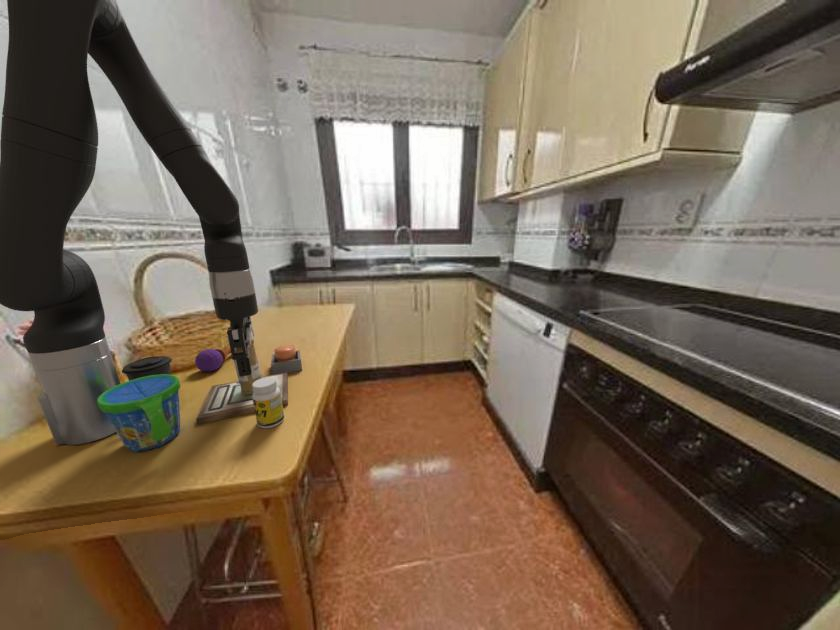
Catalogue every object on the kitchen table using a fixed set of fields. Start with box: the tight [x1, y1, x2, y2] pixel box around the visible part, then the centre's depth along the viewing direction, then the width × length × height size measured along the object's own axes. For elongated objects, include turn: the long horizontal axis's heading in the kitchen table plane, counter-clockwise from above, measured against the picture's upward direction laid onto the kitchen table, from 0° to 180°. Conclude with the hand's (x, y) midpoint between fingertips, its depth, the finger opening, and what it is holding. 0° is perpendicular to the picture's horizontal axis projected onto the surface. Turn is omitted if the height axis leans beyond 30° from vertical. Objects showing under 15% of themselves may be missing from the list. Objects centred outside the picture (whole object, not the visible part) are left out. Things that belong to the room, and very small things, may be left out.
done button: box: [274, 345, 297, 362], centre depth 82 cm, size 5×5×4 cm
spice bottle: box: [227, 331, 262, 395], centre depth 67 cm, size 5×5×13 cm
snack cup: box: [97, 374, 181, 453], centre depth 54 cm, size 16×10×10 cm
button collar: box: [270, 349, 303, 375], centre depth 83 cm, size 7×7×3 cm
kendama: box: [194, 340, 255, 373], centre depth 89 cm, size 6×6×20 cm
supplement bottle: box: [252, 377, 285, 429], centre depth 59 cm, size 5×5×8 cm
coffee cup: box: [121, 355, 172, 381], centre depth 66 cm, size 8×8×10 cm
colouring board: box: [195, 373, 289, 425], centre depth 69 cm, size 16×14×2 cm
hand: (248, 366), depth 67 cm, fingers open, 8 cm apart
